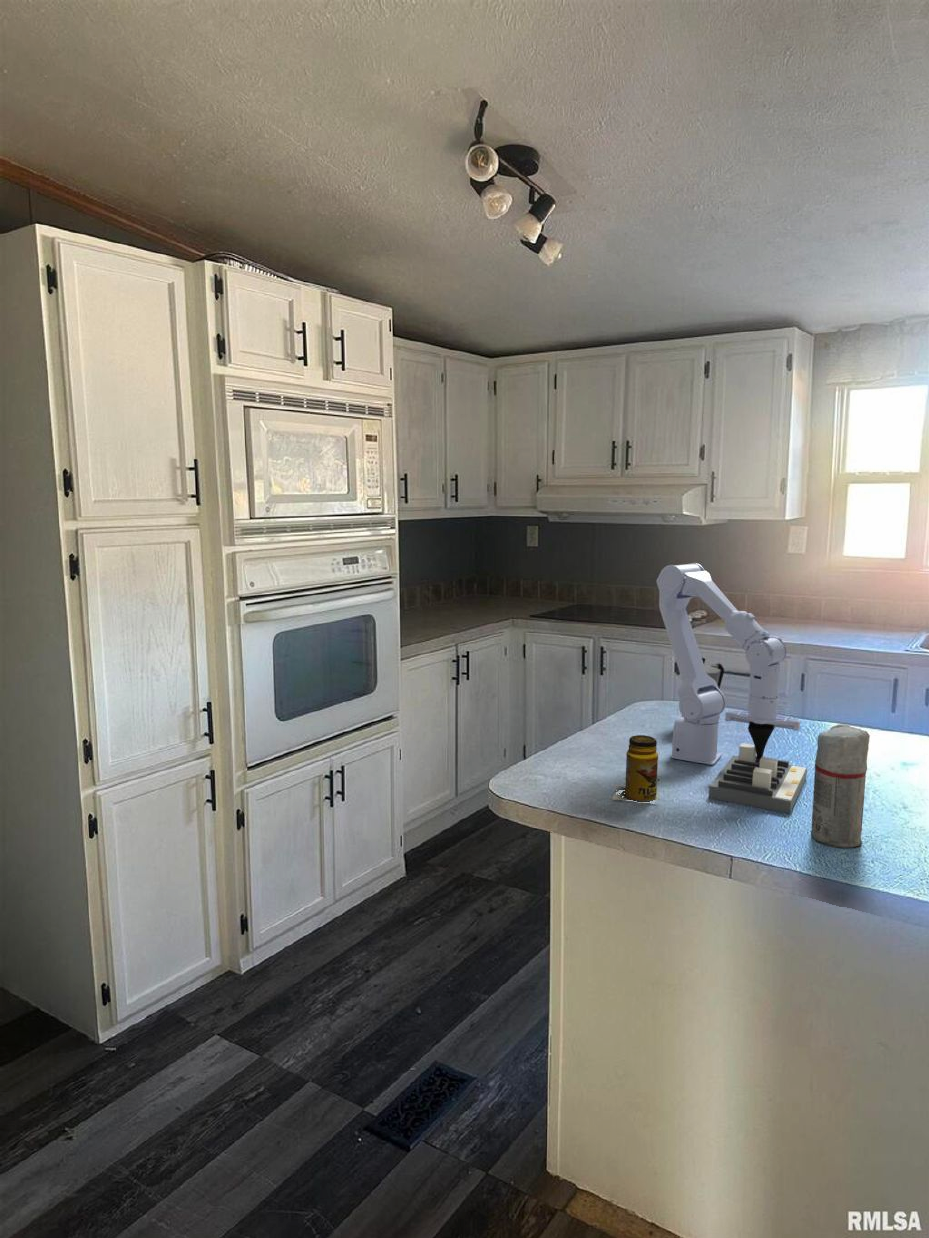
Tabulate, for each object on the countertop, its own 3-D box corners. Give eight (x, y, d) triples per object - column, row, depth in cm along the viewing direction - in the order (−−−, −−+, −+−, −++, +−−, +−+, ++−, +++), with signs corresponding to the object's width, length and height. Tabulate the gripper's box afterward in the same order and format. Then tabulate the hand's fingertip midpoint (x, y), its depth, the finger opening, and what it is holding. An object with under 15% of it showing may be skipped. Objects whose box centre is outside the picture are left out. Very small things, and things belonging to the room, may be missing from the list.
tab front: (752, 788, 152) (753, 770, 151) (754, 784, 154) (755, 767, 153) (768, 791, 150) (769, 773, 149) (770, 787, 152) (771, 769, 151)
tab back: (738, 762, 166) (739, 746, 166) (740, 759, 168) (741, 743, 168) (753, 764, 165) (754, 748, 164) (755, 761, 167) (756, 745, 166)
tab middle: (758, 777, 158) (759, 760, 157) (761, 773, 160) (762, 756, 159) (774, 780, 156) (775, 762, 155) (776, 776, 158) (777, 759, 157)
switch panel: (708, 797, 154) (709, 781, 153) (732, 765, 172) (733, 750, 171) (790, 813, 146) (791, 796, 146) (806, 778, 164) (807, 763, 164)
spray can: (859, 854, 130) (869, 738, 127) (806, 842, 134) (814, 730, 131) (864, 835, 137) (874, 725, 134) (813, 825, 141) (822, 718, 138)
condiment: (656, 805, 150) (659, 745, 148) (612, 800, 153) (614, 741, 151) (659, 792, 157) (661, 734, 155) (616, 787, 159) (618, 730, 157)
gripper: (723, 695, 163) (720, 757, 165) (798, 704, 156) (793, 769, 158) (730, 687, 169) (727, 748, 171) (803, 696, 162) (798, 759, 164)
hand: (759, 758), depth 165 cm, fingers closed
